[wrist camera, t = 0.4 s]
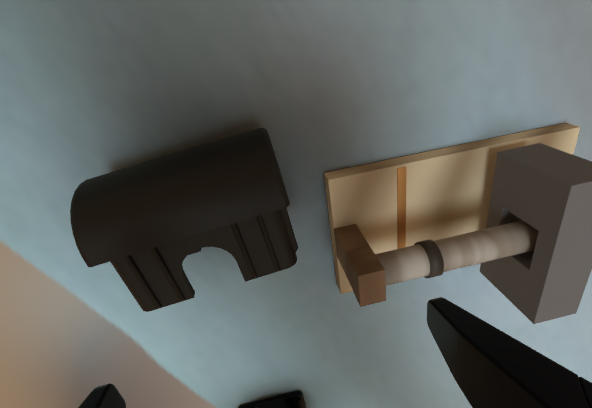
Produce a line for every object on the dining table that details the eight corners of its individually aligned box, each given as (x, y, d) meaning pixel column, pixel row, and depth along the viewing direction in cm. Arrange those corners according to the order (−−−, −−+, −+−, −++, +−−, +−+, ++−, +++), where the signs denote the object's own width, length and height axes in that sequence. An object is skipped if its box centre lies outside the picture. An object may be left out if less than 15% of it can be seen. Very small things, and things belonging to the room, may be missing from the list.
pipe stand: (565, 122, 24) (665, 150, 19) (538, 236, 29) (611, 285, 23) (323, 172, 23) (353, 219, 17) (336, 283, 28) (363, 348, 22)
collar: (540, 142, 22) (625, 173, 17) (514, 263, 27) (576, 313, 22) (497, 151, 22) (571, 185, 17) (479, 271, 26) (533, 324, 22)
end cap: (261, 112, 20) (272, 146, 14) (290, 210, 24) (309, 269, 18) (101, 160, 20) (46, 214, 14) (153, 251, 24) (127, 326, 18)
